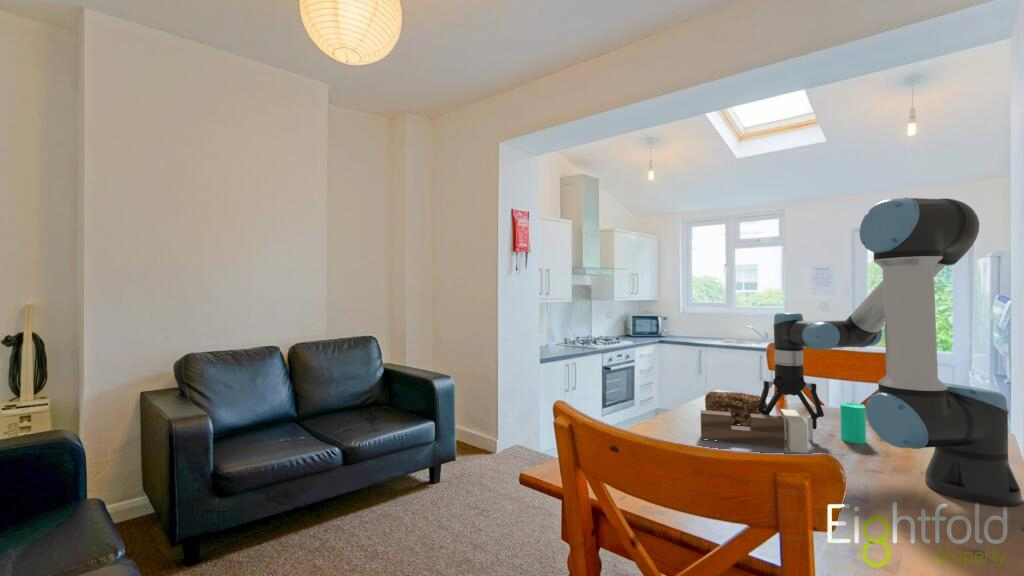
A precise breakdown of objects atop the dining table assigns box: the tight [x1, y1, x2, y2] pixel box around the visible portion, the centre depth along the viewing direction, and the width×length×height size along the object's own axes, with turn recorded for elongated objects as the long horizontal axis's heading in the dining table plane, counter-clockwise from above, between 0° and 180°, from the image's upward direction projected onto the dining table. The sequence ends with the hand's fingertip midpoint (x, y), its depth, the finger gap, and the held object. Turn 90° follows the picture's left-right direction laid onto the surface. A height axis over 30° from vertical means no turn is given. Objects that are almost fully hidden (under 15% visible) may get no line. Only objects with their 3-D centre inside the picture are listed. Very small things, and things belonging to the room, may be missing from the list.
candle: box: [839, 399, 867, 445], centre depth 139 cm, size 6×6×12 cm
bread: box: [704, 391, 768, 425], centre depth 160 cm, size 19×11×10 cm, turn 70°
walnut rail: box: [700, 409, 786, 449], centre depth 139 cm, size 4×22×8 cm, turn 69°
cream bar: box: [779, 408, 809, 454], centre depth 137 cm, size 16×4×8 cm, turn 159°
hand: (790, 437), depth 142 cm, fingers open, 10 cm apart
